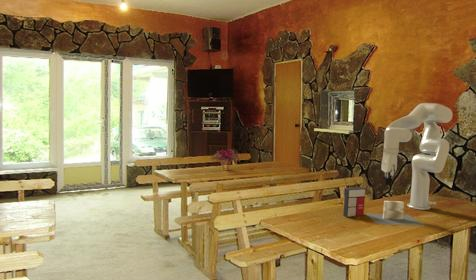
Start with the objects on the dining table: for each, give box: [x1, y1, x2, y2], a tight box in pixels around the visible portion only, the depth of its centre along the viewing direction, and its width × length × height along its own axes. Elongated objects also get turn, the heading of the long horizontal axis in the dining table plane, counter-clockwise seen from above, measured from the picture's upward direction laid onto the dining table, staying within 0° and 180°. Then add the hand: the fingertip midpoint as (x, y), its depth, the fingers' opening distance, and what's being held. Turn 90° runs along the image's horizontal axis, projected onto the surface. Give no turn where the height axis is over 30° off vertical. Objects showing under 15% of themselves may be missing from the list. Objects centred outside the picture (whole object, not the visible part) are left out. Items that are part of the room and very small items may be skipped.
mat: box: [364, 212, 426, 226], centre depth 216 cm, size 24×19×1 cm
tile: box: [382, 200, 405, 219], centre depth 217 cm, size 10×2×9 cm, turn 91°
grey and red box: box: [342, 186, 366, 218], centre depth 221 cm, size 11×4×15 cm, turn 112°
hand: (387, 184), depth 224 cm, fingers closed
